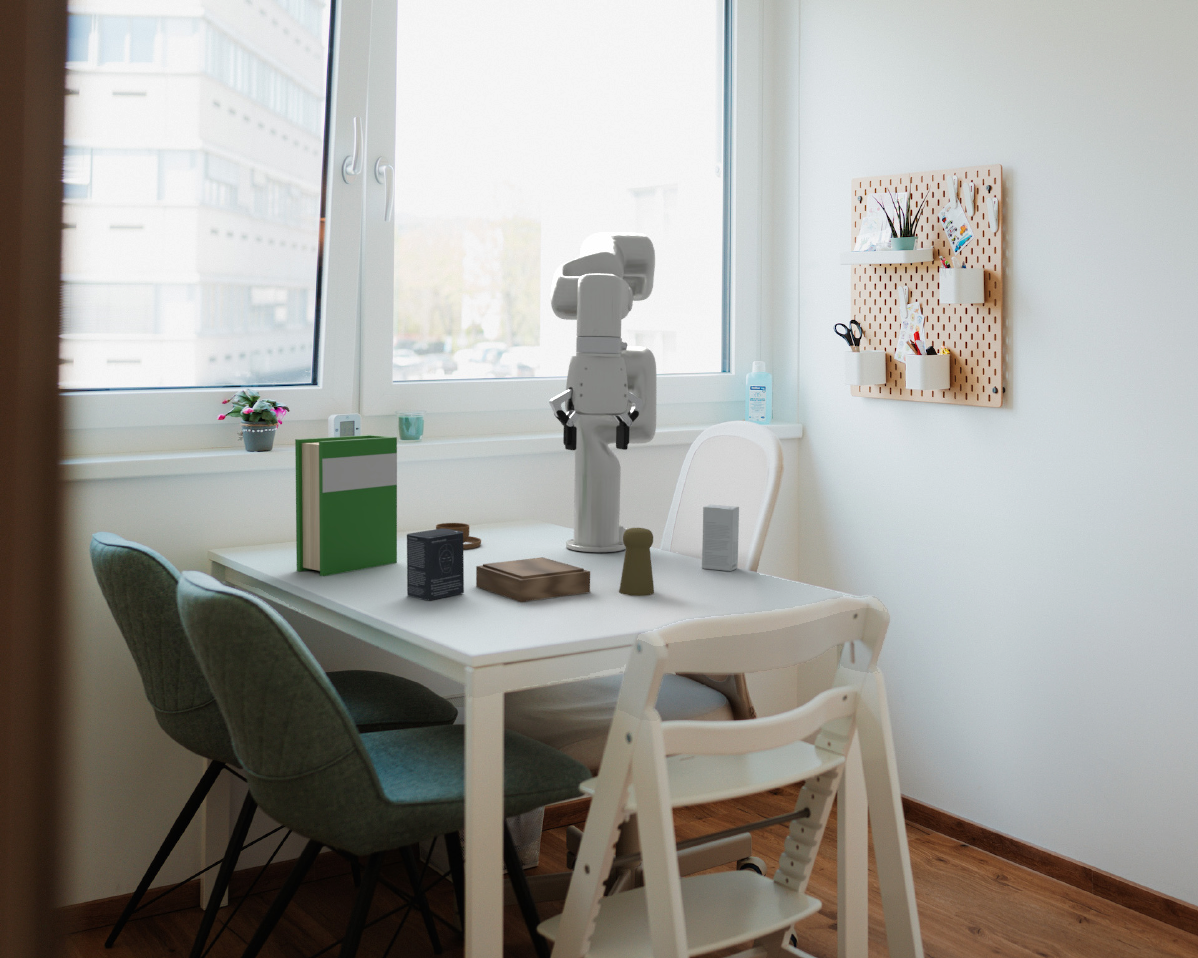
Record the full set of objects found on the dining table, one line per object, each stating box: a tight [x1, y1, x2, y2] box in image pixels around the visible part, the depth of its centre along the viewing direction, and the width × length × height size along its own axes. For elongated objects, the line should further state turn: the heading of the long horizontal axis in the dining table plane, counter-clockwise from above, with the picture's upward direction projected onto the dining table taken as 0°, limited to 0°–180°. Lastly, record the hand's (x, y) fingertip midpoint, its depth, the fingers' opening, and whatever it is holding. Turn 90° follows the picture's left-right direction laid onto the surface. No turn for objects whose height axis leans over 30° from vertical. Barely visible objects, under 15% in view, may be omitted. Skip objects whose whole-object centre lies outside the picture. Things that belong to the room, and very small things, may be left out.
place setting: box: [435, 522, 482, 551], centre depth 226 cm, size 18×20×6 cm
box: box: [406, 528, 465, 601], centre depth 179 cm, size 8×6×11 cm
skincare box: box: [701, 504, 740, 572], centre depth 207 cm, size 6×4×12 cm
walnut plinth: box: [475, 557, 591, 603], centre depth 185 cm, size 14×14×4 cm
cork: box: [619, 527, 655, 597], centre depth 184 cm, size 6×6×11 cm
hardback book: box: [294, 434, 398, 577], centre depth 201 cm, size 18×7×24 cm, turn 144°
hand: (596, 449), depth 184 cm, fingers open, 9 cm apart
